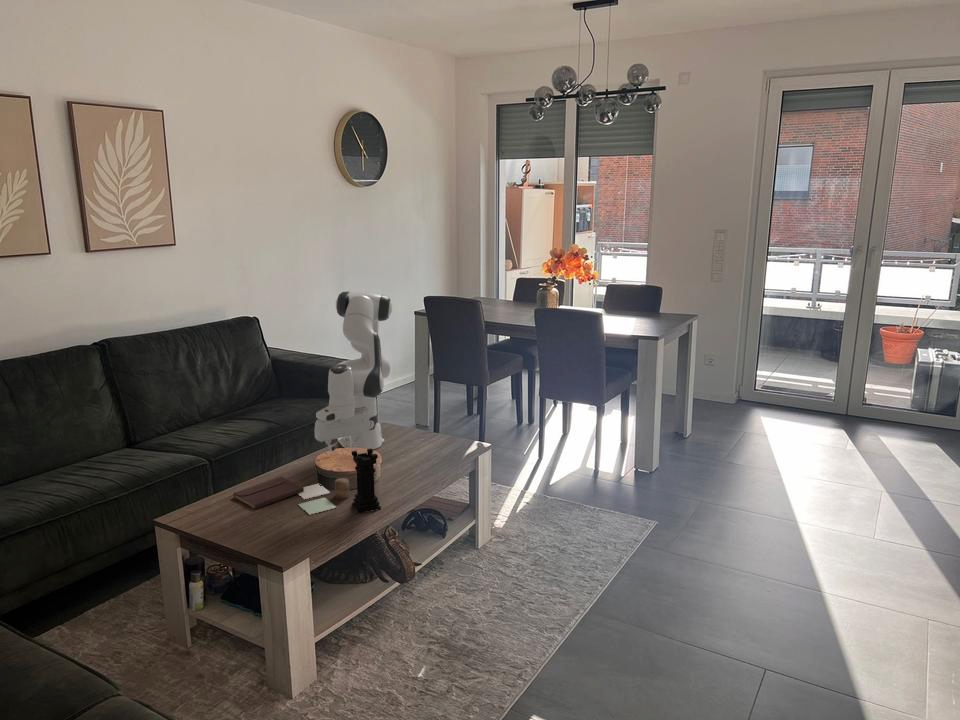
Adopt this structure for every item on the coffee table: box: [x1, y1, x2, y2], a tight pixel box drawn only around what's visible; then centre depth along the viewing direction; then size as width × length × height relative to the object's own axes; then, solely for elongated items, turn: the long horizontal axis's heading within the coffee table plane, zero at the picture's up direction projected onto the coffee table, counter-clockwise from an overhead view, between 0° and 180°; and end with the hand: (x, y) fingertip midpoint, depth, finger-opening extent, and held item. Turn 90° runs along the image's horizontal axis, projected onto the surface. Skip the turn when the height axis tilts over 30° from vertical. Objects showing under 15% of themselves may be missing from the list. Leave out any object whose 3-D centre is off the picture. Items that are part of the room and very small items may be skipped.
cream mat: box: [297, 483, 331, 501], centre depth 260 cm, size 10×10×1 cm
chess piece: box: [351, 448, 382, 514], centre depth 245 cm, size 8×8×20 cm
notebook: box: [233, 475, 304, 510], centre depth 257 cm, size 15×20×2 cm
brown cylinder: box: [334, 477, 350, 500], centre depth 256 cm, size 5×5×6 cm
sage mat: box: [297, 497, 337, 516], centre depth 248 cm, size 10×10×1 cm
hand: (343, 448), depth 251 cm, fingers open, 8 cm apart
